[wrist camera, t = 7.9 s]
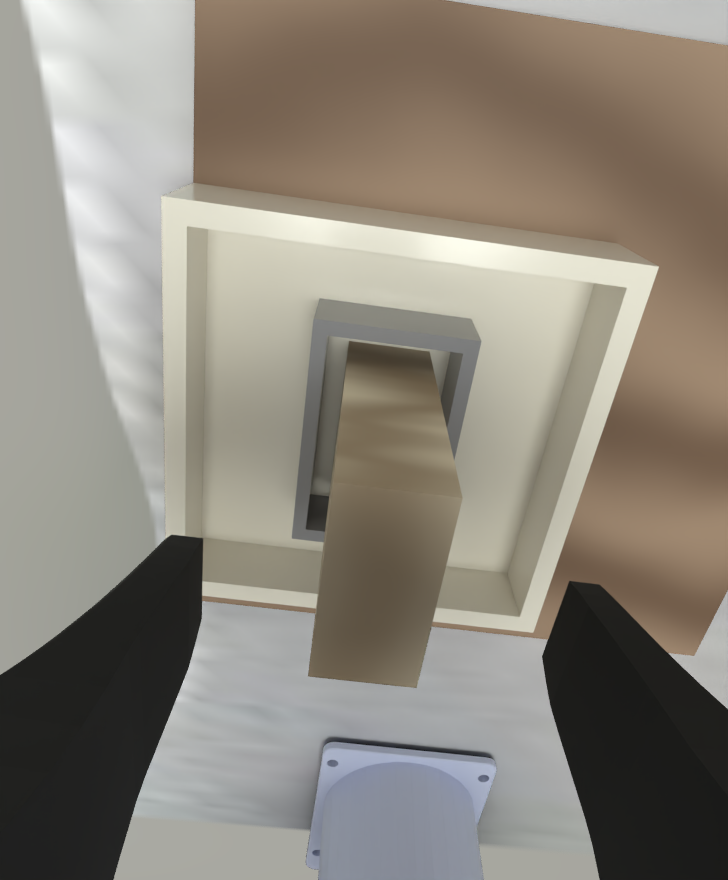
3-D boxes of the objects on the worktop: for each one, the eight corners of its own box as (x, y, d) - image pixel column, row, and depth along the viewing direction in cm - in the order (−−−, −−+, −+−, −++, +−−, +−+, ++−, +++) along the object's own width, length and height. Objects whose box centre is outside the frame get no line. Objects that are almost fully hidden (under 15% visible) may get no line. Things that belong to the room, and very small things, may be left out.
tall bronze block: (429, 351, 19) (462, 497, 12) (402, 493, 21) (416, 687, 14) (349, 340, 19) (333, 482, 12) (330, 484, 21) (308, 676, 14)
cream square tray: (617, 243, 18) (659, 266, 16) (515, 573, 24) (533, 632, 21) (193, 182, 18) (160, 195, 15) (189, 536, 23) (165, 591, 20)
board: (685, 640, 26) (694, 655, 25) (194, 585, 25) (189, 599, 24) (959, 87, 17) (984, 86, 16) (203, -34, 16) (195, -40, 15)
